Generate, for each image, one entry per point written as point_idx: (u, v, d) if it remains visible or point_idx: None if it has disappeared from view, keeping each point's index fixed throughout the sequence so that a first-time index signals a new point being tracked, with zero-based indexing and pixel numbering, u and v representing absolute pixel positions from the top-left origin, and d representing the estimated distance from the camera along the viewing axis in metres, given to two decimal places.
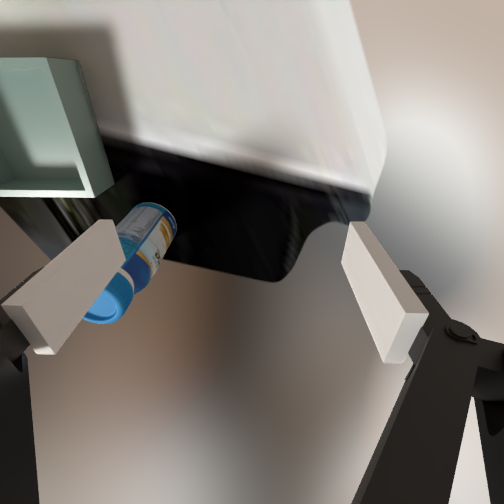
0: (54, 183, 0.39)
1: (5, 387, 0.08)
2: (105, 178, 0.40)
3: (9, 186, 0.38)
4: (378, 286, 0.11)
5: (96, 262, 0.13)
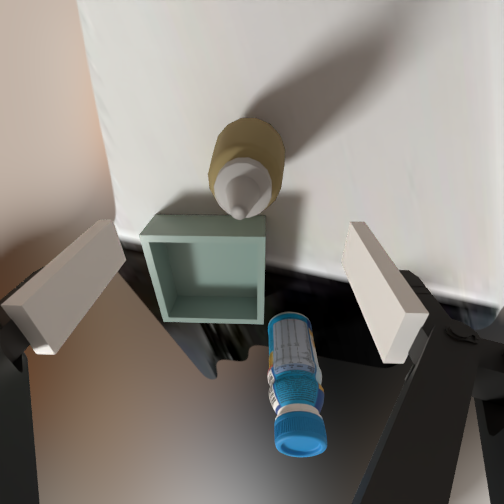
0: (219, 305, 0.44)
1: (5, 387, 0.08)
2: None
3: (182, 311, 0.43)
4: (378, 286, 0.11)
5: (96, 262, 0.13)
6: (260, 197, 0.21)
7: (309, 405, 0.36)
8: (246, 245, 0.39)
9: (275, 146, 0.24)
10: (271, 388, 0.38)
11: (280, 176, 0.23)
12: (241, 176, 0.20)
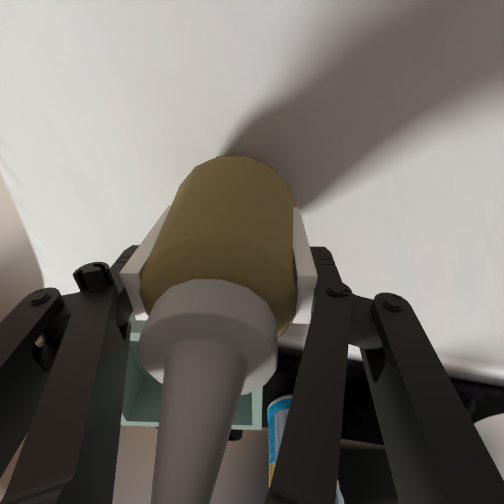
0: None
1: (111, 354, 0.08)
2: None
3: (147, 408, 0.30)
4: None
5: None
6: (251, 373, 0.09)
7: None
8: None
9: (282, 223, 0.12)
10: None
11: (294, 299, 0.10)
12: (199, 342, 0.08)
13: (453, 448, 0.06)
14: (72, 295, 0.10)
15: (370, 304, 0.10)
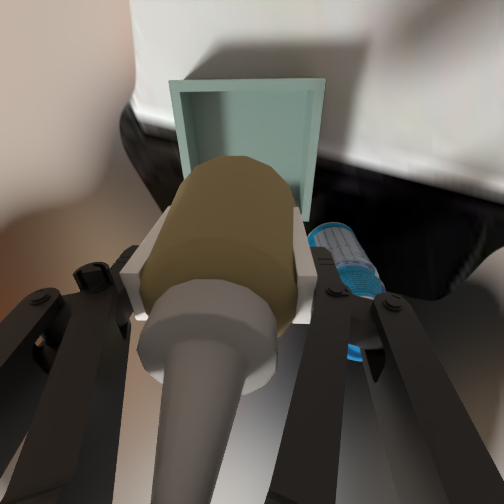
0: None
1: (111, 354, 0.08)
2: None
3: None
4: None
5: None
6: (251, 374, 0.09)
7: (373, 298, 0.29)
8: (290, 120, 0.33)
9: (282, 223, 0.12)
10: None
11: (295, 299, 0.10)
12: (200, 342, 0.08)
13: (453, 448, 0.06)
14: (72, 295, 0.10)
15: (370, 304, 0.10)
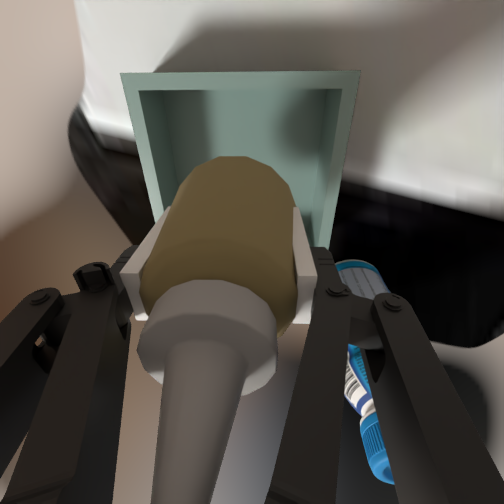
0: None
1: (111, 354, 0.08)
2: None
3: None
4: None
5: None
6: (251, 374, 0.09)
7: None
8: (302, 131, 0.24)
9: (282, 223, 0.12)
10: (346, 367, 0.23)
11: (294, 300, 0.10)
12: (200, 343, 0.08)
13: (453, 448, 0.06)
14: (72, 295, 0.10)
15: (370, 304, 0.10)
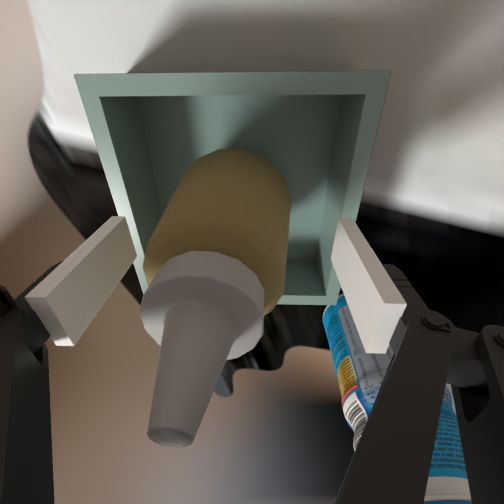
0: None
1: (26, 378, 0.08)
2: None
3: None
4: (362, 279, 0.11)
5: (110, 257, 0.13)
6: (240, 336, 0.10)
7: None
8: (309, 145, 0.20)
9: (274, 208, 0.13)
10: None
11: (283, 275, 0.11)
12: (194, 303, 0.09)
13: None
14: None
15: (475, 335, 0.09)
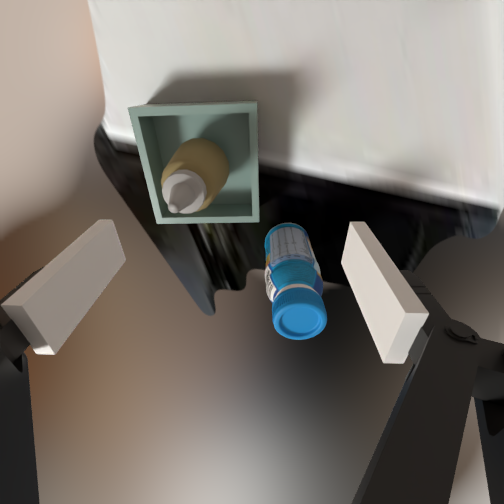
0: (213, 209, 0.43)
1: (5, 387, 0.08)
2: None
3: (176, 213, 0.42)
4: (378, 286, 0.11)
5: (96, 262, 0.13)
6: (196, 198, 0.29)
7: (307, 285, 0.34)
8: (239, 136, 0.39)
9: (213, 160, 0.32)
10: (268, 279, 0.37)
11: (214, 182, 0.30)
12: (180, 183, 0.28)
13: None
14: None
15: (502, 345, 0.08)
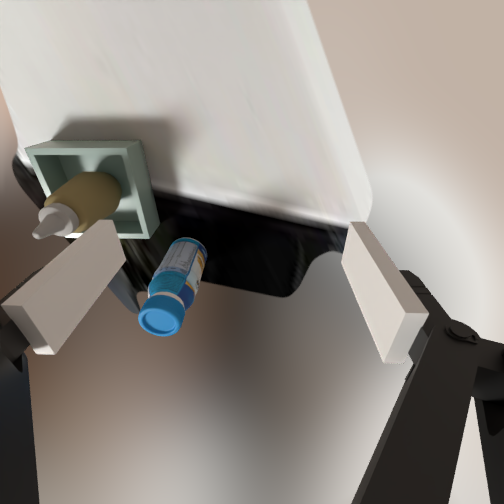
0: (116, 226, 0.51)
1: (5, 387, 0.08)
2: (155, 221, 0.51)
3: None
4: (378, 286, 0.11)
5: (96, 262, 0.13)
6: (66, 225, 0.37)
7: (171, 293, 0.43)
8: None
9: (90, 192, 0.40)
10: None
11: (86, 212, 0.39)
12: (50, 214, 0.36)
13: None
14: None
15: (502, 345, 0.08)
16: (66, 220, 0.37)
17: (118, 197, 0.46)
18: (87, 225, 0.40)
